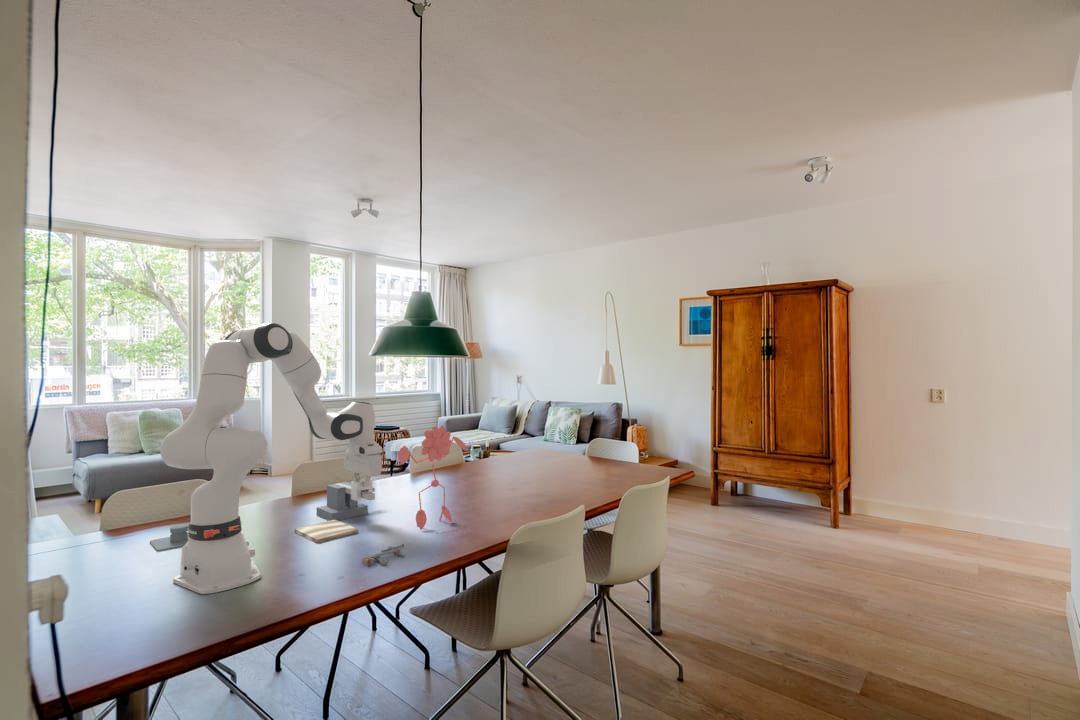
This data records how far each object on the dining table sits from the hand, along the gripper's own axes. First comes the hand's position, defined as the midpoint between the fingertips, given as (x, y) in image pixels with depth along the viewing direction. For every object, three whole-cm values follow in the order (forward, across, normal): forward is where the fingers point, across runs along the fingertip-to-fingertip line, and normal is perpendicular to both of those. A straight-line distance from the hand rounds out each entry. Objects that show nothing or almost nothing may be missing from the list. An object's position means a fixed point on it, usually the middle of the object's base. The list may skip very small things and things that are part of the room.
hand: (361, 485), depth 187 cm
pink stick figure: (+13, +26, +14) cm, 32 cm away
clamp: (+14, +37, -13) cm, 42 cm away
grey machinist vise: (+13, -7, +3) cm, 15 cm away
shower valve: (+14, -24, -48) cm, 56 cm away
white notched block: (+5, 0, 0) cm, 5 cm away
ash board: (+13, +2, -14) cm, 19 cm away
